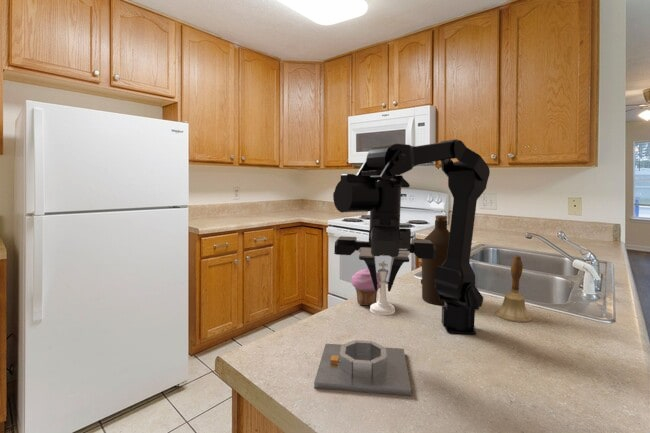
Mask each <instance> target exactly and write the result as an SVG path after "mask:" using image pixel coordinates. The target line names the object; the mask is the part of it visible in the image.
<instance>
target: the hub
mask: <svg viewBox="0 0 650 433" xmlns="http://www.w3.org/2000/svg"><path fill="white" fill-rule="evenodd" d="M404 349H405V348H400V347H399V348H397V347H385V346H383V345H382V344H379V343H378V342H375V341H372V340H359V339H356V340H354V339H353V340H351V341H349V342H346V343H343V344H339V343H338V344H337V343H325V345H324V349H323V352H322V354H321V359H320V362H319V364H318V369H317V372H316V375H315V379H314V385H313V388H315V389H324V390H337V391H348V392H349V391H350V392H360V393H372V394H381V395H382V394H385V395H396V396H407V397H411V396H412V388H411V383H410V382H411V381H410V377H409V372H408V366H407V360H406V354H405V350H404Z"/></svg>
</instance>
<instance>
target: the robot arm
mask: <svg viewBox="0 0 650 433" xmlns="http://www.w3.org/2000/svg"><path fill="white" fill-rule="evenodd" d="M454 159H455V160H457V161H453V160H454ZM438 161H439V162H440V164H441V171H442V172H443V173H444V175H445V176H446V177H447V187H448V189H449V191H450V193H451V196H452V197H453V201H452V211H451V219H450V226H449V227H450V228H449V232H450V234H449V243H448V251H447V259H446V261H445V262H444V263H443V264H442V266H437V268H436V276H435V280H434V283H435V288H436V290H437V294H438V298H439V300H443V301H445V302H444V305H442V307H441V322H440V323H441V325H442V326H443V328H444V329H445V331H446V332H447V333H449V334H463V335H477V330H476V329H475V318H476V317H475V316H476V314H475V313H476V310H478V311H479V310H480V308H481V307H482V305H483V301H484V296H483V295H482V294H481V292H480V291H479V289H478V288H477V287H476V275H475V272H474V270H473V267H472V266H471V263H470V261H471V260H470V259H471V253H472V252H471V251H472V244H473V234H474V227H475V218H476V211H477V209H476V208H477V202H478V200H479V198H480V197H481V196H482V195H483V193H484V192H485V190H487V186H488V181H489V177H490V174H491V173H490V172H491V170H490V167H489V166H488V164H487V163H486V161H485V160H484V159H483V157H482V156H481V155H480V154H479V153H477V152H476V151H473V149H470V148H468V147H467V146H466V144H465V143H464V142H463V141H462V140H460V139H448V140H442V141H439V142H436V143H435V142H434V143H429V144H421V145H415V146H414V145H411V144H405V143H391V144H382V145H376V146H373V147H371V148H370V149H369V150H368V153H367V154H366V159H365V160H364V162H363V163H362V165H361V166H360V168H359V170H358V171H357V173H356V174H353V173H342V174H340V181H339V182H338V183H337V185H336V186H335V188H334V191H333V194H332V198H333V199H332V200H333V204H334V207H335V208H336V210H337V212H339V213H344V214H345V213H366V212H367V213H368V212H369V231H368V241H365V240H364V241H362V240H361V241H359V240H357V239H358V238H357V236H342V235H341V236H340V235H339V237H338V238H337V239H336V240H335V241H334V255H336V256H337V255H340V256H342V255H343V256H351V255H352V254H353V253H355V252H356V251H357V252H358V253H359V256H358V259H359V260H360V261H364V263H365V265H366V266H367V269H369V271H370V274H371V278H372V281H373V285H374V288H375V291H377V273H378V272H377V264H376V257H380V256H387V257H390V258H391V260H390V266H389V271H388V280H387V281H388V284H387V292H391V290H392V288H393V285H394V282H395V279H396V277H397V275H398V272H399V270H400V269H401V267H402V266H403V264H404V263H409V262H410V257H409V255H410V254H413V255H415V256H416V257H417V258H418V259H420V260H422V259H436V246H435V245H434V244H433V243H432V242H431V241H430V240H424V239H418V238H416V239H415V238H412V230H411V228H403V227H401V228H400V226H401V206H402V205H401V204H402V202H401V201H402V188H404V189H405V188H410V183H409V182H408V181H407V180H406V179H405V178H404V176H403V174H405V173H407V172H409V171H411V170H413V169H414V167H416V166H418V165H424V164H428V163H435V162H438ZM376 272H377V273H376ZM377 292H378V291H377Z"/></svg>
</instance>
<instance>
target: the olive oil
mask: <svg viewBox="0 0 650 433" xmlns="http://www.w3.org/2000/svg"><path fill="white" fill-rule="evenodd" d="M447 219H448V216H447V215H441V214H439V215H435V220H434V229H433V230H432V231H431V232H430V233H428V234H427V236H426V237H425V238H424V239H423V240H430V241H431V242H432V243H433V244H434V245H435V246H436V259H421V279H420V285H421V289H422V290H421V299H422V300H423V301H424V302H426V303H429V304H433V305H439V306H444V302H445V301H443V300H439V298H438V294H437V290H436V288H435V283H434V280H435V276H436V268H437V266H442V264H443V263H444V262H445V261H446V259H447V251H448V243H449V234H450V230H448V220H447Z"/></svg>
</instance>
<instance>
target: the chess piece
mask: <svg viewBox="0 0 650 433" xmlns="http://www.w3.org/2000/svg"><path fill="white" fill-rule="evenodd" d="M378 266H379V267H381V268H380V269H377V270H378V271H377V273H379V276H380V281H378V282H377V283H378V284H381V285H380V288H379V294H378V300H376V303H374V304H372V305H369V306H370V308H369V311H370V312H371V313H373V314H375V315H379V316H389V315H390V316H391V315H393V314H395V313H396V307H395V306H394V305H393V304H391V303H390V302H389V301H388V299H387V298H388V297H387V290H386V285H387V286H388V280H387V278H388V277H387V276H388V275H389V270H388V269H386V268H385V267H388V266H389V264H388V263H385V260H383V259H382V261H381V263H378Z"/></svg>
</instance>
